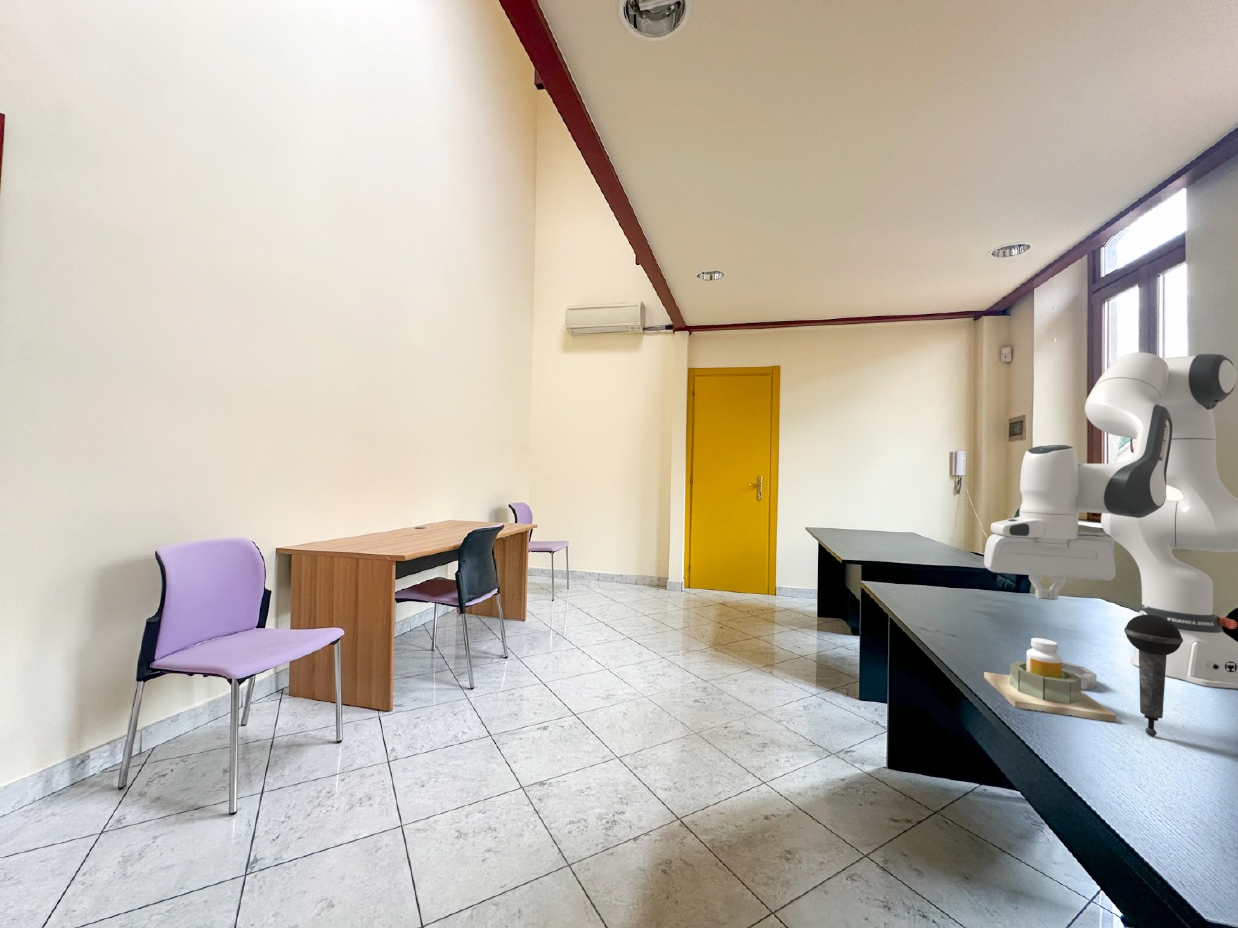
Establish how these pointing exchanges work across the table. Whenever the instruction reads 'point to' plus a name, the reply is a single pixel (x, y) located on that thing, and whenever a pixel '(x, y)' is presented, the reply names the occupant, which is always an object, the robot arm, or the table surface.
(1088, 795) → the table surface
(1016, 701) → the socket board
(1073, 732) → the table surface
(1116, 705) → the table surface
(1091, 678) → the holder ring
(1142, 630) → the microphone
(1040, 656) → the supplement bottle
